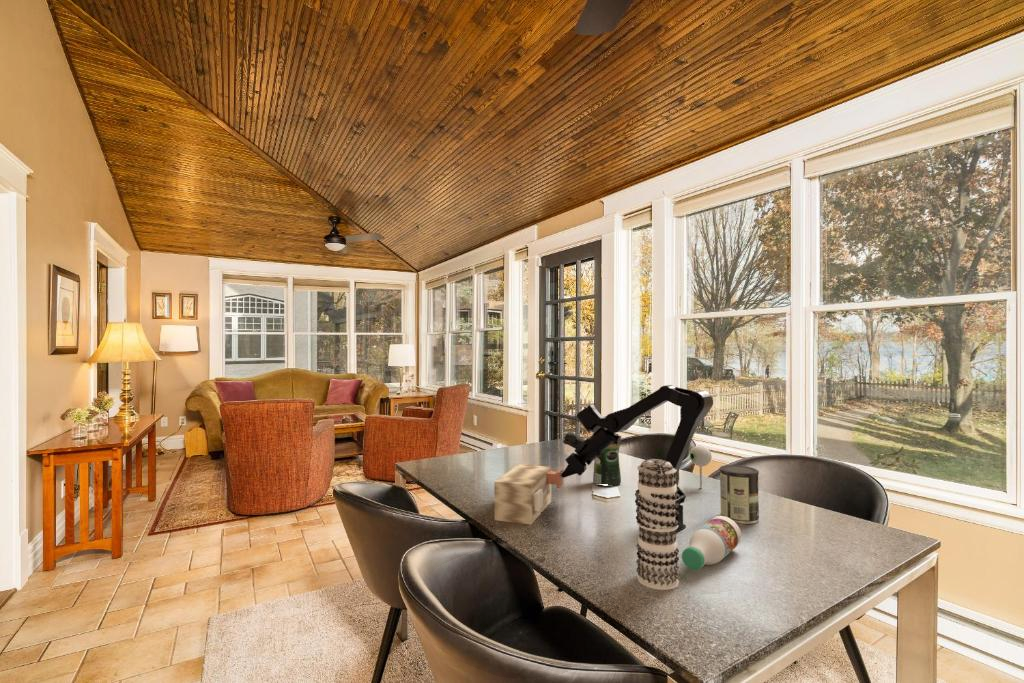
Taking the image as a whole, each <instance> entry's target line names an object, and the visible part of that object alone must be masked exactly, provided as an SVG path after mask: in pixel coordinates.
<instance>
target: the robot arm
mask: <svg viewBox="0 0 1024 683" xmlns="http://www.w3.org/2000/svg"><path fill="white" fill-rule="evenodd" d="M667 402H669V403H672V404H673V405H675V406H678V407H680V421H679V424H678V426H677V429H676V432H675V433H674V436H673V438H672V441H671V443H670V445H669V448H668V450H667V453H666V455H665V458H664V460H665V461H668V462H670V463H671V465H672V466H673V468H675V469H676V470H677V471H676V474H675V475H676V485H677V488H678V489H679V490H678V492H677V491H676V493H678V494H679V495H680V498H679V499H677V500H676V499H675V502H676V503H678V504H679V508H677V509H676V510H677V511H678V512H679V513H680V514H679V515H678V516H676V517H675V519H676V520H677V521H678V522H679V524H678V528H677V530H676V534H677V533H678V532H680V531H681V530H683V529H685V528H686V527H687V525H686V524H685V523H684V505H682V504H684V503H685V500H686V497H687V495H686V494H685V492H684V491H682V490H681V488H680V487H679V483H680V468H681V466H682V464H683V461H684V460H685V457H686V455H687V453H688V450H689V447H690V444H691V442H692V440H693V438H694V435H695V433H696V430H697V428H698V426H699V424H700V423H702V421H703V420H704V419H705V417H706V416H707V415H708V413H709V412H710V410H711V409H712V407H713V406H714V399H713V397H712V395H711V394H710V393H709V392H708V391H705V390H702V389H701V390H691V389H687V388H684V387H683V388H682V387H678V386H674V385H672V384H667V385H663V386H660V387H659V389H657V390H655V391H654V392H652V393H650V394H649V395H647V396H645V397H643V398H642V399H640V400H639V401H637V402H635V403H633V404H632V405H631V406H629V407H625V408H623V409H620V410H617V411H613V412H612V413H608V414H606V416H602V414H601V413H600V412H599V411H598V409H597V408H596V407H595V405H594V404H588V405H587V406H586V407H584V408H583V409H581V410H580V411H579V412H578V413H577V415H576V420H577V421H578V422H579V423H580V424H581V425H582V426H583V429H585V431H586V432H591V433H593V434H591V436H588V437H587V438H586V439H585V438H583V437H582V436H580V435H578V434H576V433H575V432H573V431H568V432H566V435H565V436H564V437H563V440H562V443H563V444H565V445H567V446H570V447H571V448H573V449H575V450H574V452H575V453H574V452H572V453H570V454H569V456H568V457H567V458H565V459H564V460H565V462H566V463H567V465H566V467H565V469H563V473H562V474H561V476H562V477H563V479H565V478H567V477H571V476H572V475H573V476H574V475H577V476H581V475H582V474H584V473H585V472H586V470H587V466H590V465H591V464H592V462H593V461H595V458H596V457H598V456H599V455H600V454H601V453H602V452H603V451H604V450H605V449H606V448H607V447H608V446H609V445H610V444H612V443H613V442H614V443H615V444H616V445H620V446H621V445H622V435H619V436H617V435H616V434H618V433H621V432H625V431H627V430H629V429H630V428H631V427H632V426H633V425H635V423H636V422H637V420H639V419H640V418H642V417H643V416H645V415H647V413H650V412H652V411H653V410H655V409H657V408H658V407H661V406H662V405H664V404H665V403H667ZM615 433H616V434H615Z"/></svg>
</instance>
